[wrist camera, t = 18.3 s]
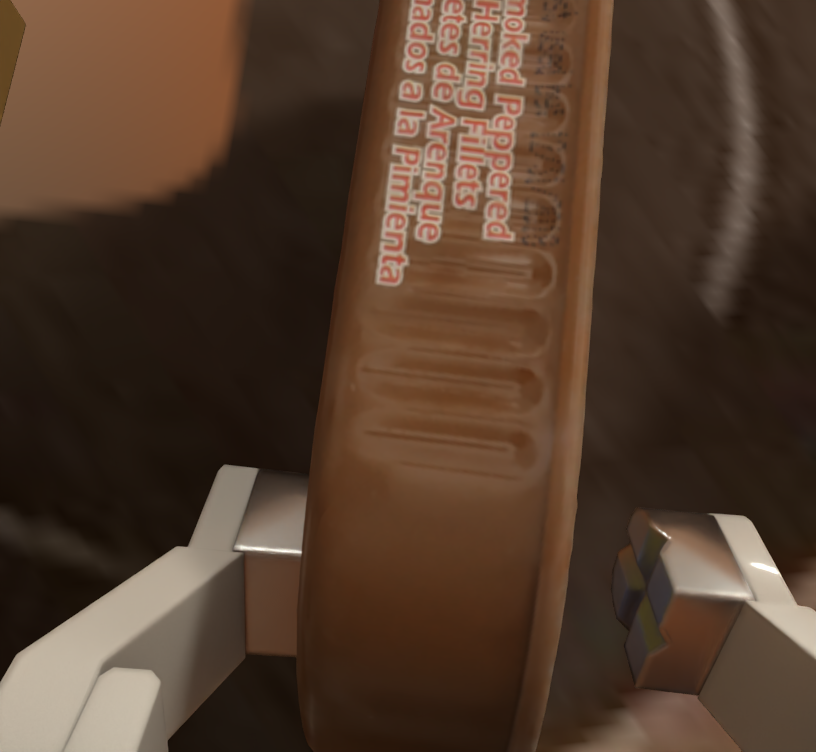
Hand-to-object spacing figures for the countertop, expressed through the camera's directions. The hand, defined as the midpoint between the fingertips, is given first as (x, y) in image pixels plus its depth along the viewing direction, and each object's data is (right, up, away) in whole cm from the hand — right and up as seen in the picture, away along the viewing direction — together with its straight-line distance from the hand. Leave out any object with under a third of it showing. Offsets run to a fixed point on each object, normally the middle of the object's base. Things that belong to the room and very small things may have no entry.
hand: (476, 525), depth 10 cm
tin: (0, +3, +5) cm, 6 cm away
